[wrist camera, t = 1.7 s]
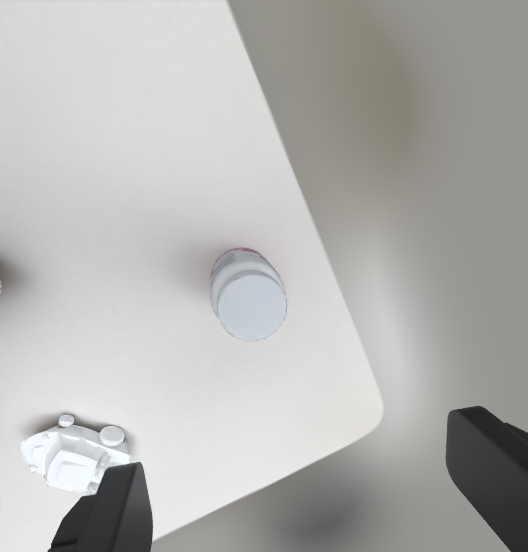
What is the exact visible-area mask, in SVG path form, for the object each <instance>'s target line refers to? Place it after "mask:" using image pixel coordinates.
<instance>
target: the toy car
mask: <svg viewBox="0 0 528 552" xmlns="http://www.w3.org/2000/svg"><path fill="white" fill-rule="evenodd" d="M73 423H74V417H73V416H71V415H62V416H61V417H60V418H59V421H58V424H59V425H58V426H55V427H52V428H50V429H48V430H46V431H44V432H41V433H38V434H35V435H33V436H31V437H29V438H28V439H26V440H25V441H23V442H21V444H20V447H19V449H20V451H21V453H22V455H23V457H24V459H25V461H26V462H27V463H28V465H29V466H30V467H31V468H30V472H31V473H32V472H34V471H37V472H39V473H41V474H42V475H44V477H45V479H46V482H47V486H51V487H55V488H59V489H64V490H70V491H77V492H86V489H88V490H87V495H86V496H88V495H93V494H96V492H97V490H98V487H99V485H100V482H101V480H102V477H103V474H104V472H105V470H106V469H107V468H108V467H113V466H119V465H125V464H128V463H129V461H130V458H131V454H129V452H128V450H127V448H126V446H127V443H124V442H122V441H123V439H124V432H123V431H122V429H120V428H119V427H116V426H107V427H105V428H103V429H102V430H101V432H100V433H98V432H96V431H94V430H91V429H88V428H85V427H81V426H76V425H73ZM61 427H63V428H61ZM65 427H66V428H65ZM93 490H95V491H94V493H93Z"/></svg>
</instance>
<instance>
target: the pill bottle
mask: <svg viewBox="0 0 528 552" xmlns="http://www.w3.org/2000/svg"><path fill="white" fill-rule="evenodd" d="M211 304H212V308H213V311H214V313H215V315H216V316H217V318H218V319H219V320H220V323H221V325H222V326H223V328H224V329H225V330H226V331H227V332H228V333H229V334H230V335H232V336H233V337H235V338H237V339H240V340H244V341H258V340H262V339H265V338H267V337H269V336H271V335H272V334H274V333H275V332H276V331H277V330H278V329H279V327H280V326H281V325H282V323H283V321H284V319H285V316H286V312H287V301H286V297H285V288H284V284H283V282H282V279H281V278H280V276H279V274H278V273H277V272H276V271H275V269H274V268H273V267H272V266H271V265H270V264H269V262H268V261H267V260H266V259H265V258H264V257H263V256H262V255H261V254H260V253H258V252H257V251H255V250H252V249H248V248H235V249H232V250H229V251H227V252H226V253H224V254H223V255H222V256H220V257H219V259H218V260H217V261H216V263H215V264H214V267H213V269H212V273H211Z"/></svg>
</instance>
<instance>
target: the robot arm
mask: <svg viewBox="0 0 528 552" xmlns="http://www.w3.org/2000/svg"><path fill="white" fill-rule="evenodd" d="M446 465H447V468H448V471H449V474H450V476H451V478H452V480H453V482H454V483H455V485H456V486H457V487H458V489H459V490H460V491H461V492H462V493H463V494H464V496H465V497H466V498H467V499H468V500H469V502H470V503H471V504H472V505H473V507H474V508H475V509H476V510H477V511H478V513H479V514H480V515H481V516H482V517H483V519H484V520H485V521H486V522H487V523H488V525H489V526H490V527H491V528H492V529H493V531H494V532H495V533H496V534H497V535H498V537H499V538H500V539H501V540H502V541H503V542H504V544H505V545H506V546H507V547H508V548H509V550H510V551H511V552H528V433H527V432H525V431H523V430H521V429H519V428H517V427H515V426H512V425H510V424H508V423H503V422H502V421H501V420H499V419H498V418H497V417H496V416H494V415H493V414H492V413H490V412H489V411H488V410H487V409H485V408H483V407H481V406H475V407H469V408H463V409H457V410H452V411H450V413H449V415H448V423H447V443H446ZM152 534H153V520H152V511H151V505H150V500H149V495H148V490H147V485H146V480H145V475H144V470H143V466H142V464H141V462H137V463H131V464H125V465H119V466H113V467H108V468H107V469H106V470H105V472H104V474H103V477H102V480H101V482H100V485H99V487H98V490H97V492H96V494H94V495H88V496H82V497H81V498H80V500H79V501H78V502H77V503H76V504H75V505H74V506H73V508H72V509H71V510H70V511H69V512H68V513H67V515H66V516H65V517H64V518H63V520H62V522H61V524H60V526H59V528H58V530H57V533H56V535H55V537H54V539H53V541H52V543H51V549H49V550H48V552H150V550H151V543H152Z"/></svg>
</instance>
